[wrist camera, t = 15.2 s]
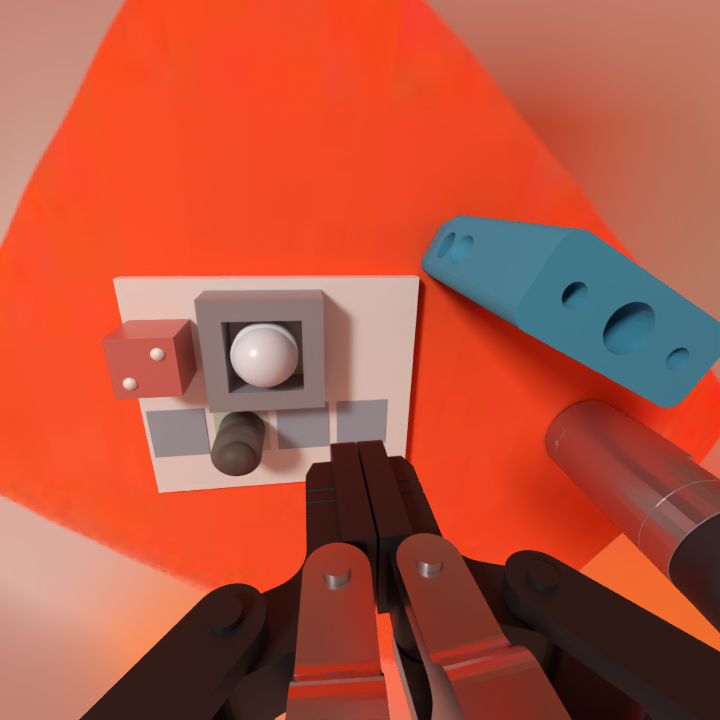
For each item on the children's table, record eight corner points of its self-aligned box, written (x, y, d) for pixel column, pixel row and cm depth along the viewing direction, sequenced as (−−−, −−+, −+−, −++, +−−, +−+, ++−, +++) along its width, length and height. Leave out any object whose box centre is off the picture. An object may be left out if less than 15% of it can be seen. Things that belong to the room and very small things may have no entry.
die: (189, 318, 34) (172, 338, 30) (197, 371, 36) (182, 396, 32) (128, 320, 34) (101, 339, 29) (139, 373, 36) (115, 400, 31)
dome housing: (320, 289, 35) (323, 298, 32) (322, 389, 39) (324, 407, 36) (203, 290, 34) (193, 300, 31) (217, 394, 38) (209, 413, 34)
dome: (296, 315, 35) (296, 334, 30) (299, 373, 37) (299, 398, 32) (231, 316, 34) (221, 336, 30) (237, 375, 36) (229, 402, 32)
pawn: (264, 409, 39) (258, 444, 33) (266, 447, 40) (261, 486, 35) (217, 411, 38) (204, 447, 33) (221, 449, 40) (209, 489, 34)
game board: (415, 275, 37) (419, 277, 36) (401, 466, 46) (403, 474, 44) (118, 276, 33) (112, 279, 32) (162, 484, 42) (158, 493, 41)
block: (529, 269, 39) (738, 335, 20) (500, 314, 40) (671, 412, 22) (429, 207, 35) (573, 220, 17) (401, 258, 36) (506, 322, 18)
